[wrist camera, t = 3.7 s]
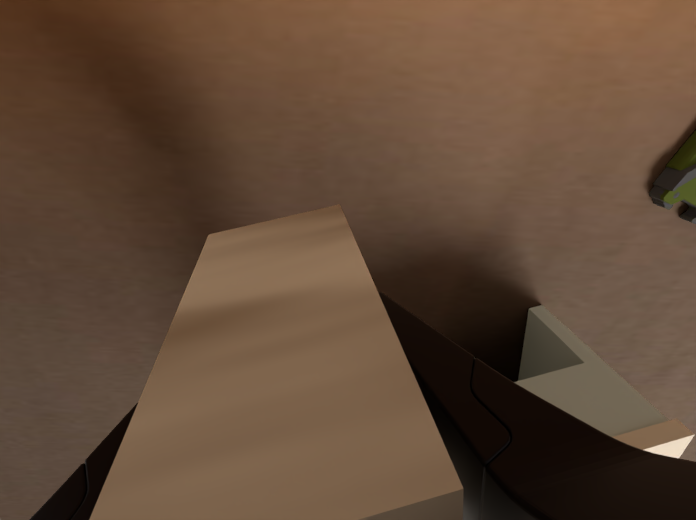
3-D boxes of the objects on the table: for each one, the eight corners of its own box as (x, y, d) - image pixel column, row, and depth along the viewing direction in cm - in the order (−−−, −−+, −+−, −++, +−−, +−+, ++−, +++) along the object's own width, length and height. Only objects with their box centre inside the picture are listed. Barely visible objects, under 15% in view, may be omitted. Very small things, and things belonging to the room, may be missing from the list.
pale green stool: (528, 395, 29) (630, 530, 20) (389, 433, 28) (436, 591, 19) (545, 302, 23) (694, 434, 15) (373, 346, 22) (429, 513, 14)
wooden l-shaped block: (392, 474, 19) (457, 707, 12) (323, 494, 18) (349, 743, 12) (339, 204, 10) (463, 488, 3) (208, 234, 10) (51, 610, 3)
